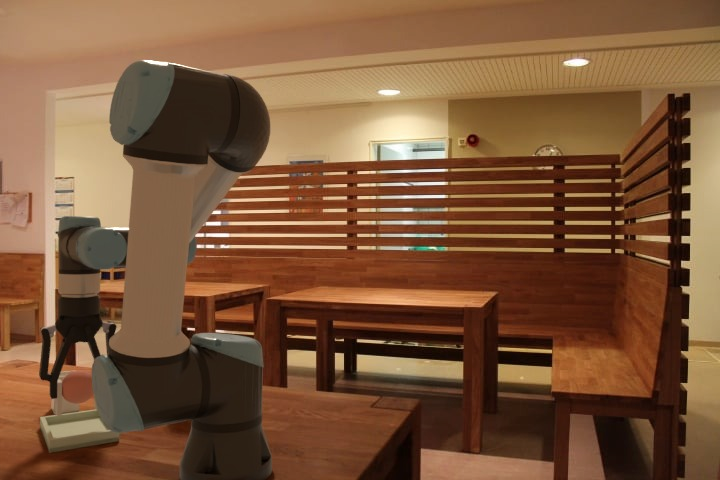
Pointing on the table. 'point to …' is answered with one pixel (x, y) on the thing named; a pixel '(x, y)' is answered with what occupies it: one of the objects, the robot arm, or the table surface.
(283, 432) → the table surface
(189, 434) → the robot arm
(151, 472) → the table surface
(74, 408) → the hollow square tube
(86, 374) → the ball
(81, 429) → the tray
